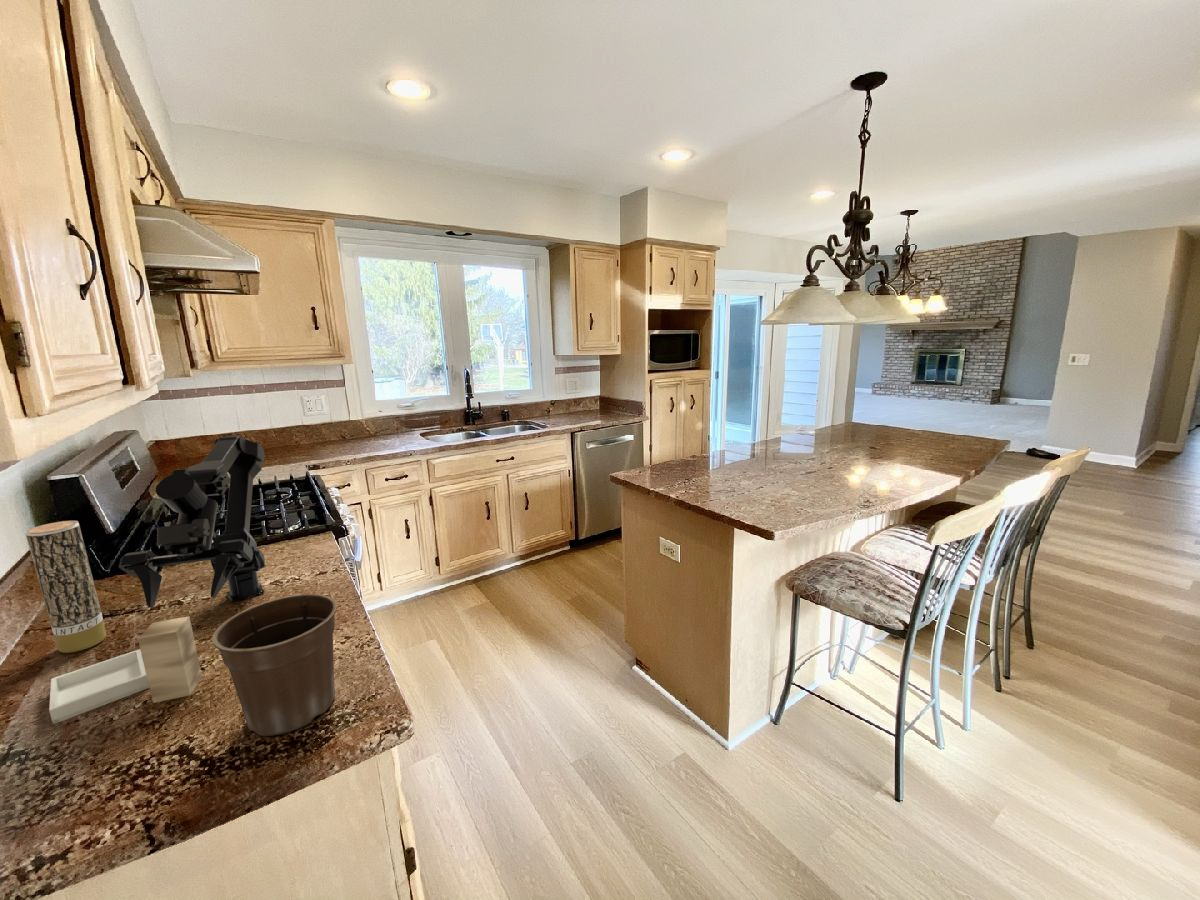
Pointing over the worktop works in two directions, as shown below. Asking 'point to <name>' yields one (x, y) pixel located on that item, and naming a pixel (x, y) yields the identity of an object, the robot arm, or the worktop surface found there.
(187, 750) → the worktop surface
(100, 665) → the tray
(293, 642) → the plant pot
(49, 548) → the bark-printed cylinder
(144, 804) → the worktop surface
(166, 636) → the beech block
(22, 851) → the worktop surface
